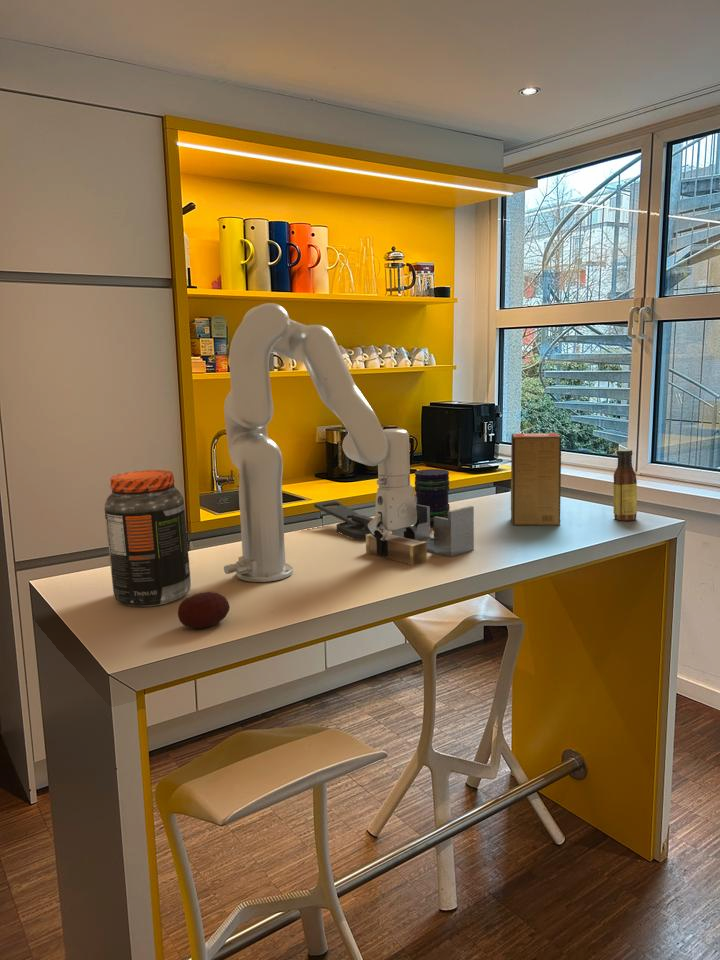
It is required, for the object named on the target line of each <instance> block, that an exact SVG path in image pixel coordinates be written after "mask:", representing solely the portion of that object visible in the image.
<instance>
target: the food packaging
mask: <svg viewBox="0 0 720 960" xmlns="http://www.w3.org/2000/svg"><path fill="white" fill-rule="evenodd" d="M510 442H511V443H510V444H511V449H510V450H511V454H510V456H511V460H510V461H511V462H510V463H511V464H510V465H511V467H510V468H511V469H510V470H511V471H510V473H511V474H510V522H511V524H512V526H533V527H534V526H538V527H539V526H547V527H548V526H549V527H551V526H554V527H555V526H558V527H559V526H560V525H561V498H562V497H561V496H562V494H561V493H562V492H561V490H562V489H561V484H562V481H561V480H562V478H561V477H562V473H561V472H562V436H561V434H558V432H556V433H555V432H553V433H552V432H551V433H549V432H548V433H538V432H537V433H535V432H534V433H511V440H510Z"/></svg>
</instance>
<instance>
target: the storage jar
mask: <svg viewBox="0 0 720 960" xmlns="http://www.w3.org/2000/svg"><path fill="white" fill-rule="evenodd" d="M449 475H450V471H448V470H446V469H437V468H436V469H435V468H433V469H431V468H430V469H429V468H428V469H421V470H416V471H415V472H414V493H415V497H417V504H418V505H424V506H429V507H430V528H434V517H436V516H437V517H442V518H447V519H448V511H451V510H450V509H451V508H450V507H451V506H450V504H449V492H450V476H449Z"/></svg>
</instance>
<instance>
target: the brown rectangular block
mask: <svg viewBox="0 0 720 960" xmlns="http://www.w3.org/2000/svg"><path fill="white" fill-rule="evenodd" d="M381 534H382V532H381ZM385 540H387V541H388V556H387V557H385V559H388V558H389V559H388V560H392V559H393V560H392V561H397V562H400V563H403V562H404V564H407V563H408V565H410V564H411V565H410V566H417V565H419V563H420V564H422V562H423V563H426V562H427V561H428V551H427V542H424V541H423V542H422V541H417V540H413V539H409V538H404V537H400V536H396V535H392V533H391V534H390V533H388V535H387V537H386V539H385ZM367 553H368V555H374V556H378V557H382V558H384V556H380V555H377V543H376V539H375V538H374V536H373V535H372V534H367V535H366V540H365V554H367ZM425 561H426V562H425ZM416 564H417V565H416Z"/></svg>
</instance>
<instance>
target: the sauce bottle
mask: <svg viewBox="0 0 720 960" xmlns="http://www.w3.org/2000/svg"><path fill="white" fill-rule="evenodd" d="M616 456H617V467H616V469H615V470H614V472H613V485H612V487H613V515H614V516H613V517H614V519H615V520H617V521H622V522H623V521H624V522H630V521H631V522H632V521H634V520H636V519H637V514H638V501H637V500H638V495H637V494H638V491H637V489H638V485H637V483H638V482H637V475H636V472H635V471H634V468H633V463H632V461H633V460H632V459H633V458H632V457H633V449H629V448H627V449H625V448H622V449H617V450H616Z"/></svg>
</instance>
